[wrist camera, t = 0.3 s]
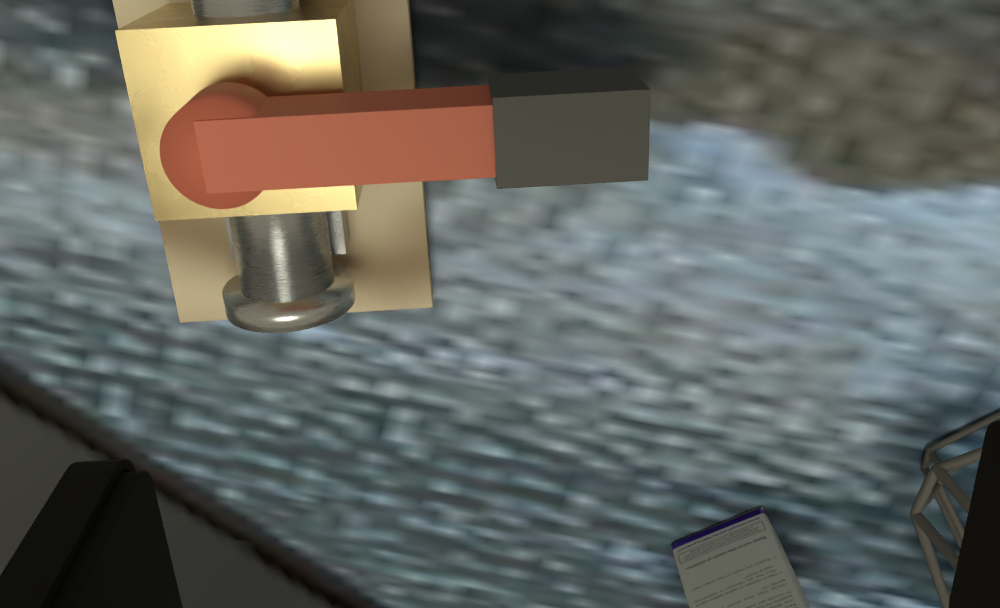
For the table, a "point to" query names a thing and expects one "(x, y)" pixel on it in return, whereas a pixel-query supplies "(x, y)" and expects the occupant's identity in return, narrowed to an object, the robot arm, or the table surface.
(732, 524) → the supplement box
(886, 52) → the table surface
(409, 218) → the mounting board
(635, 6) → the table surface
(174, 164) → the valve lever
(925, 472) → the geometric lantern
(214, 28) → the pipe valve
